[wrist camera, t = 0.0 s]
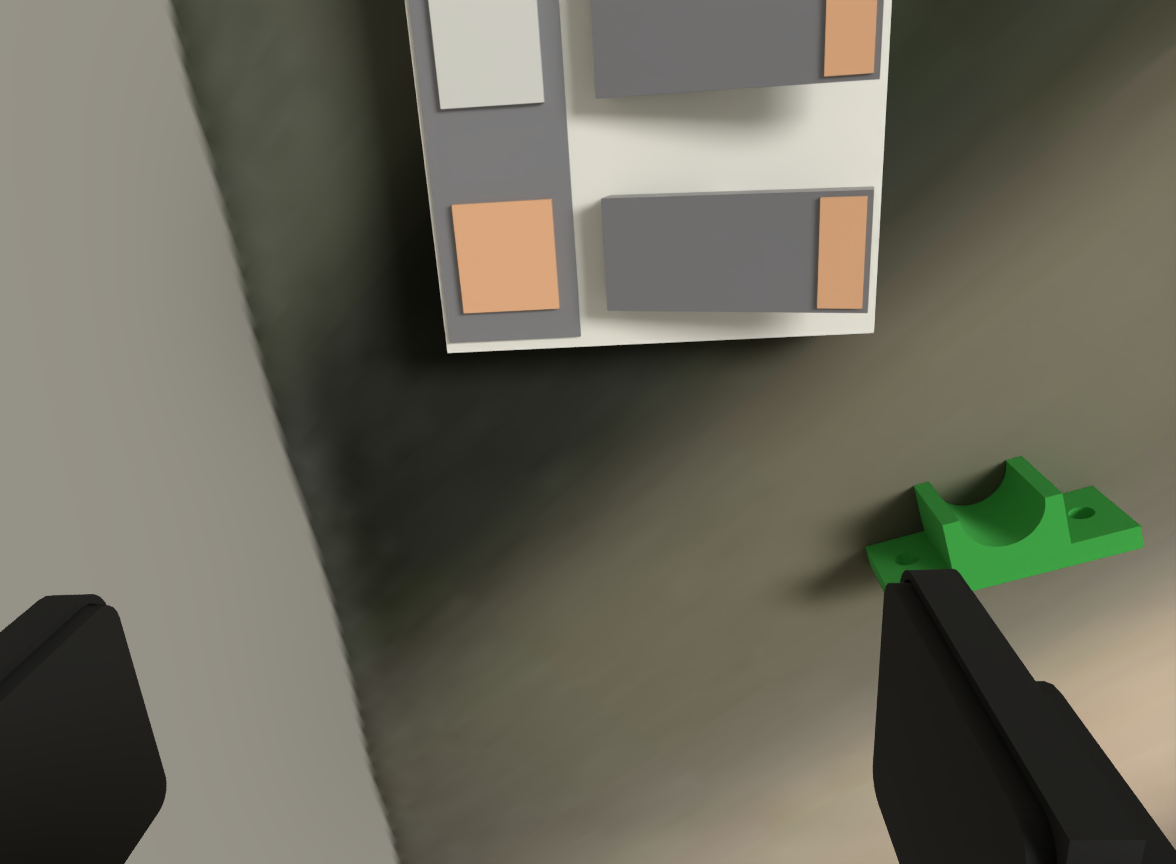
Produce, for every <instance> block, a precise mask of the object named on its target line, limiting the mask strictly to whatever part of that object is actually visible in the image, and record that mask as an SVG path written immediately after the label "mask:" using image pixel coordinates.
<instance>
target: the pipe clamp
mask: <svg viewBox="0 0 1176 864" xmlns="http://www.w3.org/2000/svg"><path fill="white" fill-rule="evenodd" d="M914 490H915V494H916V498H917V503H918V507H919V511H920V515H921V520H922V524H923V528H924V531H922V532H918V533H914V534H911V535H907V536H903V537H899V538H896V539H892V540H888V541H885V542H881V543H877V544H873V545H870V546H866V551H867V555H868V559H869V563H870V566H871V568H872V570H873V572H874V574H875V576H876V578H877V579H878V581H879V583H880V585H881V587H882V589H883V591H884V592H885V588H886V585H887V584H888V583H900V579H901V576H902V573H903V572H904V571H905V570H926V569H956V570H957V571H958V572H959V573H960V574H961V575H962V577H963V578H964V580H965V581H966V583H967V584H968V585H969V587H970V588H971V590H972V591H974V590H978V589H982V588H986V587H990V586H994V585H998V584H1002V583H1006V582H1009V581H1013V580H1017V579H1021V578H1025V577H1029V576H1033V575H1037V574H1041V573H1045V572H1049V571H1053V570H1057V569H1061V568H1065V567H1068V566H1072V565H1076V564H1080V563H1084V562H1088V561H1092V560H1096V559H1100V558H1104V557H1108V556H1112V555H1116V554H1120V553H1124V552H1128V551H1131V550H1135V549H1139V548H1143V547H1144V545H1143V538H1142V531H1141V526H1140V525H1139V524H1138V523H1137V522H1136V521H1134V520H1133V519H1132V518H1131V517H1130V516H1128V515H1127V514H1126V513H1125V512H1124V511H1122V510H1121V509H1120V508H1119V507H1118V506H1116V505H1115V504H1114V503H1113V502H1112V501H1110V500H1109V499H1108V498H1107V497H1105V496H1104V495H1103V494H1102V493H1101V492H1099V491H1098V490H1097V489H1096V488H1095V487H1093V486H1089V487H1086V488H1082V489H1078V490H1075V491H1071V492H1067V493H1062V492H1061V491H1059V490H1058V489H1057V488H1056V487H1055V486H1054V485H1053V484H1052V483H1051V482H1050V481H1048V480H1047V479H1046V478H1045V477H1044V476H1043V475H1042V474H1041V473H1040V472H1039V471H1037V470H1036V469H1035V468H1034V467H1033V466H1032V465H1031V464H1030V463H1029V462H1028V461H1026V460H1025V459H1024V458H1023V457H1022V456H1019V457H1016V458H1012V459H1008V460H1006V473H1005V476H1004V479H1003V481H1002V483H1001V485H1000V486H999V488H998V489H997V490H996V491H995V492H994V493H993V494H992V495H991V496H989V497H988V498H986V499H985V500H983V501H981V502H978V503H975V504H971V505H953V504H950V503H947V502H945V501H943V499H942V498H941V497H940V495H939V494H938V493H937V492H936V490H935V489H934V488H933V486H932V485H931V484H930V483H929V482H925V483H922V484H918V485H915V486H914Z"/></svg>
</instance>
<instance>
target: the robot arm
mask: <svg viewBox="0 0 1176 864" xmlns="http://www.w3.org/2000/svg"><path fill="white" fill-rule="evenodd" d="M873 780H874V788H875V793H876V797H877V801H878V804H879V807H880V810H881V812H882V815H883V818H884V821H885V824H886V827H887V830H888V832H889V835H890V838H891V841H892V844H893V847H894V849H895V852H896V855H897V858H898V861H899V864H1176V850H1175V849H1174V847H1173V846H1172V845H1171V843H1170V842H1169V841H1168V839H1167V838H1166V836H1165V835H1164V834H1163V832H1162V831H1161V830H1160V828H1159V827H1158V825H1157V824H1156V823H1155V821H1154V820H1153V819H1152V817H1151V816H1150V814H1149V813H1148V812H1147V810H1146V809H1145V808H1144V806H1143V805H1142V803H1141V802H1140V801H1139V799H1138V798H1137V797H1136V795H1135V794H1134V792H1133V791H1132V790H1131V788H1130V787H1129V786H1128V784H1127V783H1126V782H1125V780H1124V779H1123V777H1122V776H1121V775H1120V773H1119V772H1118V771H1117V769H1116V768H1115V766H1114V765H1113V764H1112V762H1111V761H1110V760H1109V758H1108V757H1107V755H1106V754H1105V753H1104V751H1103V750H1102V749H1101V747H1100V746H1099V744H1098V743H1097V742H1096V740H1095V739H1094V738H1093V736H1092V735H1091V733H1090V732H1089V731H1088V729H1087V728H1086V727H1085V725H1084V724H1083V722H1082V721H1081V720H1080V718H1079V717H1078V716H1077V714H1076V713H1075V711H1074V710H1073V709H1072V707H1071V706H1070V705H1069V703H1068V702H1067V700H1066V699H1065V698H1064V696H1063V695H1062V694H1061V693H1060V692H1059V690H1058V689H1057V688H1056V687H1055V686H1054V685H1053V684H1050V683H1048V682H1045V681H1035V680H1034V678H1033V677H1032V676H1031V674H1030V673H1029V671H1028V670H1027V668H1026V667H1025V666H1024V664H1023V663H1022V661H1021V660H1020V658H1019V657H1018V656H1017V654H1016V653H1015V651H1014V650H1013V648H1012V647H1011V646H1010V644H1009V643H1008V641H1007V640H1006V638H1005V637H1004V636H1003V634H1002V633H1001V631H1000V630H999V628H998V627H997V625H996V624H995V623H994V621H993V620H992V618H991V617H990V615H989V614H988V613H987V611H986V610H985V608H984V607H983V605H982V604H981V603H980V601H979V600H978V598H977V597H976V595H975V594H974V593H973V591H972V590H971V588H970V587H969V585H968V584H967V583H966V581H965V580H964V578H963V577H962V575H961V574H960V573H959V572H958V571H957V570H956V569H926V570H905V571H904V572H903V573H902V576H901V579H900V583H888V584H887V585H886V588H885V592H884V604H883V619H882V634H881V650H880V665H879V680H878V696H877V711H876V726H875V742H874V757H873ZM165 794H166V777H165V773H164V769H163V766H162V762H161V759H160V756H159V752H158V749H157V745H156V742H155V738H154V735H153V732H152V728H151V724H150V721H149V718H148V714H147V711H146V707H145V704H144V700H143V697H142V694H141V690H140V686H139V683H138V679H137V676H136V672H135V669H134V666H133V662H132V659H131V655H130V652H129V648H128V645H127V642H126V638H125V634H124V631H123V627H122V624H121V621H120V617H119V615H118V613H117V611H116V610H115V609H114V608H113V607H111V606H108V605H106V603H105V602H104V601H103V599H101V597H99V596H97V595H94V594H85V595H53V596H45V597H44V598H42V599H40V600H39V601H37V602H36V603H35V604H34V605H32V606H31V607H30V608H29V609H28V610H26V611H25V612H24V613H23V614H22V615H20V616H19V617H18V618H17V619H16V620H14V622H12V623H11V624H10V625H8V626H7V627H6V628H5V629H4V630H2V632H0V864H124V863H125V862H126V860H127V859H128V857H129V856H130V854H131V853H132V851H133V850H134V848H135V847H136V845H137V844H138V842H139V841H140V839H141V838H142V836H143V835H144V833H145V832H146V830H147V829H148V827H149V826H150V824H151V823H152V821H153V820H154V818H155V817H156V815H157V814H158V812H159V811H160V809H161V806H162V805H163V802H164V799H165Z"/></svg>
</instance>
